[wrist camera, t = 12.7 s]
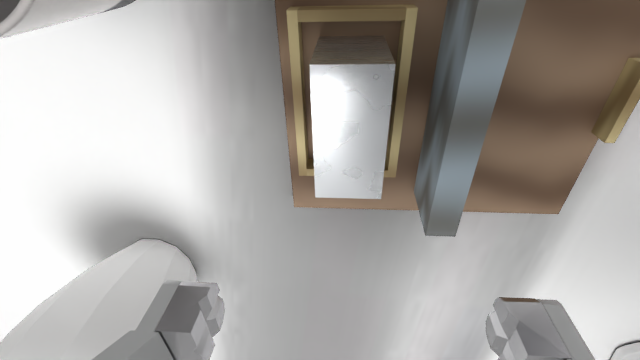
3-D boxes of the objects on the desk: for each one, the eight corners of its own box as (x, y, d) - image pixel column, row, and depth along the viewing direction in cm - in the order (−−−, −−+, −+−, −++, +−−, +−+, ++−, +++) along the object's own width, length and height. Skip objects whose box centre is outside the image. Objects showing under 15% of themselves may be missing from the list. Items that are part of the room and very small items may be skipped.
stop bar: (384, 35, 20) (395, 64, 15) (374, 149, 25) (381, 199, 20) (318, 36, 20) (309, 64, 15) (321, 148, 25) (315, 197, 20)
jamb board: (551, 204, 28) (595, 261, 23) (296, 198, 29) (285, 250, 24) (705, -105, 16) (866, -128, 11) (270, -87, 18) (240, -100, 13)
